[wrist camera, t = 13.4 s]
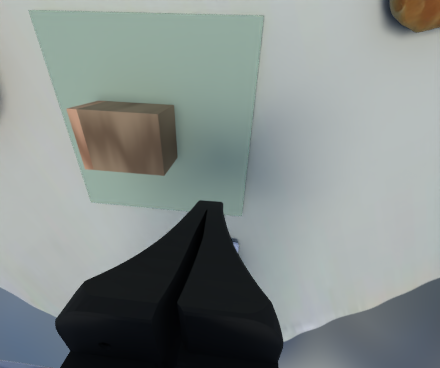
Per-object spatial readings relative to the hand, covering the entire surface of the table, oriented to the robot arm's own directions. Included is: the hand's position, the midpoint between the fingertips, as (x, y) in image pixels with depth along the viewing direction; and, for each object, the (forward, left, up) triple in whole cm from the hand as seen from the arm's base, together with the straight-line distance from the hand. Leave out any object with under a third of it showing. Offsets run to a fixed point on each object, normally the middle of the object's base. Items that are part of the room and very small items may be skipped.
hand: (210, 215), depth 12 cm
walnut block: (+2, +5, -8) cm, 9 cm away
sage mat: (+2, +7, -10) cm, 12 cm away
